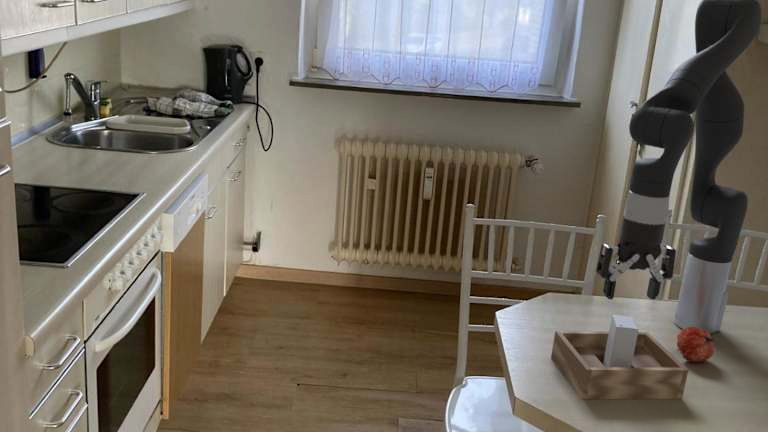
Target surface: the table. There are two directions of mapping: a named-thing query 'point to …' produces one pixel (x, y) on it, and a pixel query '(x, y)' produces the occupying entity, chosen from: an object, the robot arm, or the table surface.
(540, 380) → the table surface
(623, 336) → the skincare box
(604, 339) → the crate
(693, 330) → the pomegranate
